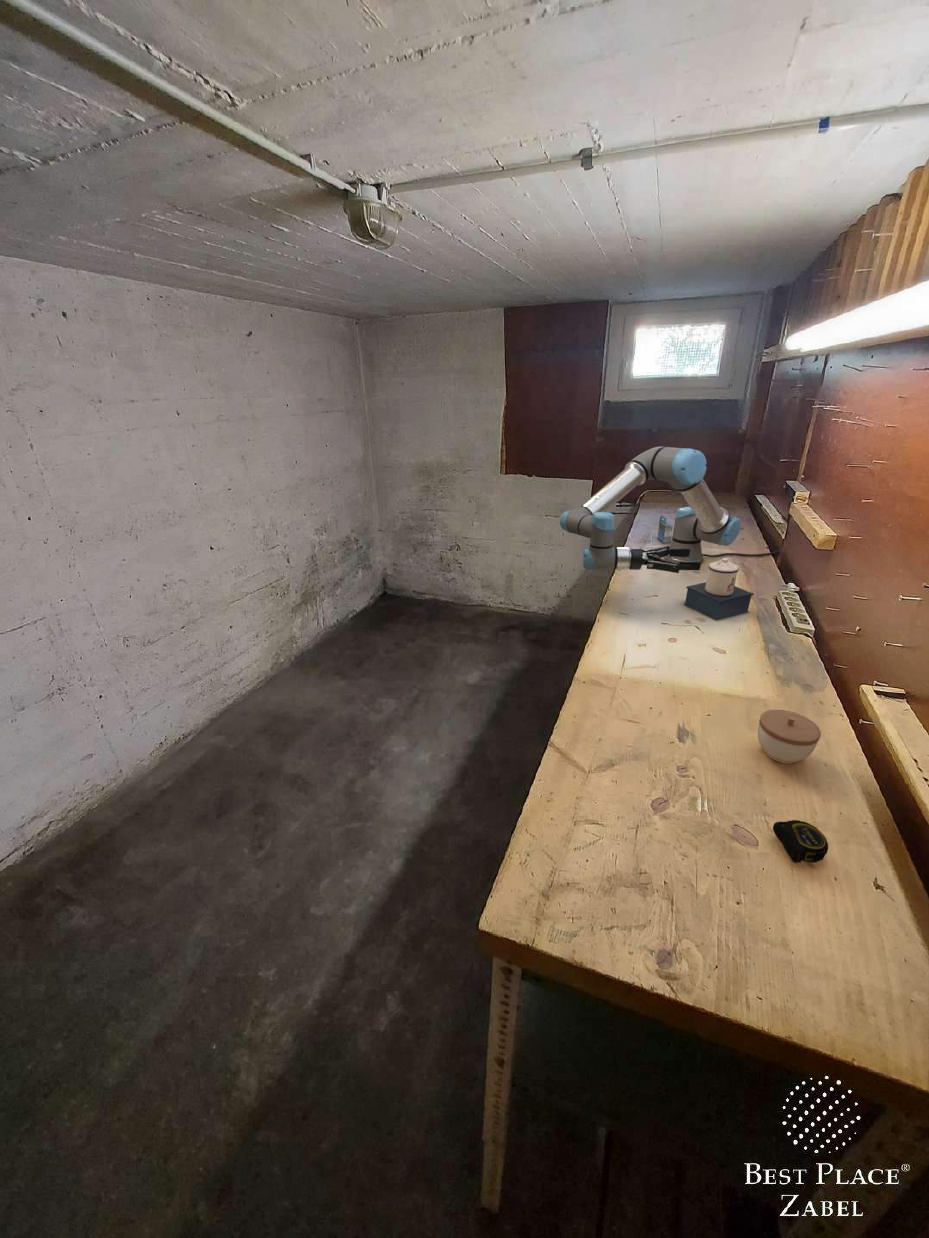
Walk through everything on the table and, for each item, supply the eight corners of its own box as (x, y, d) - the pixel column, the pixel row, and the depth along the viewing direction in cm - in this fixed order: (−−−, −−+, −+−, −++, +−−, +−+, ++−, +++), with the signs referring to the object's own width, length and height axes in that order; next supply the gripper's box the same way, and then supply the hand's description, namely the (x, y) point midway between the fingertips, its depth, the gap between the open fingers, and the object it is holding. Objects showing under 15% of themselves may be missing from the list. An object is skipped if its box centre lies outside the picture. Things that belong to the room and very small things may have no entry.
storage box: (714, 597, 177) (718, 579, 174) (749, 612, 165) (753, 593, 162) (683, 604, 172) (686, 586, 169) (716, 620, 160) (720, 601, 157)
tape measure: (768, 832, 86) (773, 817, 84) (809, 833, 85) (815, 818, 83) (788, 866, 80) (794, 850, 78) (832, 868, 79) (839, 852, 77)
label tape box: (671, 542, 237) (674, 518, 231) (662, 543, 237) (666, 518, 232) (664, 537, 245) (668, 513, 239) (656, 538, 245) (659, 514, 240)
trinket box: (741, 739, 108) (750, 705, 104) (787, 735, 108) (798, 700, 104) (773, 773, 98) (784, 737, 94) (823, 768, 99) (836, 732, 95)
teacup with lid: (732, 598, 159) (739, 564, 154) (702, 593, 163) (708, 561, 158) (735, 586, 168) (742, 554, 163) (707, 582, 172) (712, 550, 167)
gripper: (623, 557, 178) (683, 557, 175) (633, 582, 156) (703, 583, 153) (625, 537, 175) (686, 537, 172) (636, 560, 153) (707, 560, 150)
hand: (694, 559), depth 162 cm, fingers open, 13 cm apart
